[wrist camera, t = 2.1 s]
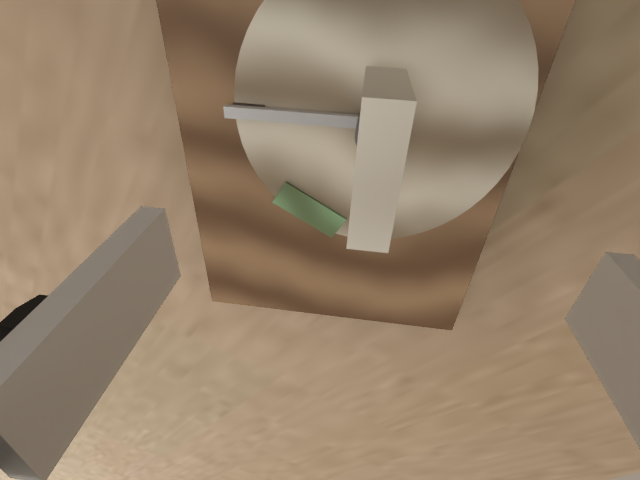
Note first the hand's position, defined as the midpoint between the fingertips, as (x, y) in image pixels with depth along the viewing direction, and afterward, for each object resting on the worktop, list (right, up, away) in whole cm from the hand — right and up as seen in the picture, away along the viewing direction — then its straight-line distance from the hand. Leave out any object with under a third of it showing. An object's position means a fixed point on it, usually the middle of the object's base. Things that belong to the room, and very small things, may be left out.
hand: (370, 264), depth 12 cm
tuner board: (0, +7, +15) cm, 16 cm away
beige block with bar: (-2, +9, +11) cm, 14 cm away
